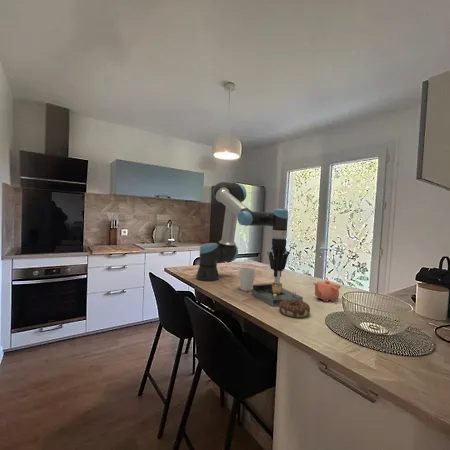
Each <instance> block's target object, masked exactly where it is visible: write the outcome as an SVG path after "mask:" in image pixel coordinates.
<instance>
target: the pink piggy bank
mask: <svg viewBox="0 0 450 450" xmlns="http://www.w3.org/2000/svg"><path fill="white" fill-rule="evenodd" d="M312 284H314V287H315V288H314V295H315V297H317V299H318V300H323V302H324V303H328V302H329V300H331V301H332V302H336V300H338V299H339V297H340V292H339V290H340V289H341V285H340V284H336V283H333V282H331V281H330V280H325V281H317V283H316V282H313V283H312Z"/></svg>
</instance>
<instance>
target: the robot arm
mask: <svg viewBox="0 0 450 450" xmlns="http://www.w3.org/2000/svg"><path fill="white" fill-rule="evenodd" d="M212 195H213V198H214V199H215V200H216V201H217V202H219V203H222V204H223V206H225V211H224V218H223V227H222V233H221V234H222V235H221V240H219V241H218V243H216V242H210V243H203V244H201V245H200V248H199V264H198V265H199V266H198V269H197V271H196V274H195V275H196V276H195V279H196V280H198V281H201V282H215V281H218V280H219V278H220V275H219V272H218V263H229V262H234V261H235V260H237V258H238V256H239V249H238V246H237V244H236V242H235V237H236V229H237V222H238V224H239V225H241V226H245V227H247V226H255V227H256V226H258V227H272V233H271V234H272V235H271V236H272V239H271V245H272V247H271V249H270V250H269V251H267V252H266V253H267V254H268V259H269V266H270V270H273V277H274V282H273V283H277V284H279V283H281V279H280V278H281V277H282V272H283V271H284V270H285V269H286V265H287V262H288V257H289V256H290V253H291V252H290V251H288V250H287V247H286V246H287V240H288V239H287V237H288V221H289V210H288V209H286V208H274V209H273V212H270V211H269V212H266V211H252V210H251V209H250V208H249V207H247V206H246V205H245V204H244V203H243V202H244V201H246V198H247V189H246V188H245V186H244V185H243V184H241V183H236V182H235V183H234V182H226V181H221V182H218V183H216V184H215V185H214V186H213V188H212Z"/></svg>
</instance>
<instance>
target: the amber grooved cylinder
mask: <svg viewBox="0 0 450 450" xmlns="http://www.w3.org/2000/svg"><path fill="white" fill-rule="evenodd" d="M271 284H272V294H277V295H281V290H282V288H283V283H281V282H280V283H279V284H277V283H275V282H272V283H271Z"/></svg>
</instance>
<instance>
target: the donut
mask: <svg viewBox="0 0 450 450" xmlns="http://www.w3.org/2000/svg"><path fill="white" fill-rule="evenodd" d="M278 307H279V311H280V312H281V313H282V314H284V315H285V316H288V317H292V318H305V317H307V316H309V314H310V312H311V308H310V305H309V304H308V303H307V302H305V301H304V300H303V301H302V300H291V299H290V300H289V299H288V300H283V301H281V303H280V304H279V306H278Z"/></svg>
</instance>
